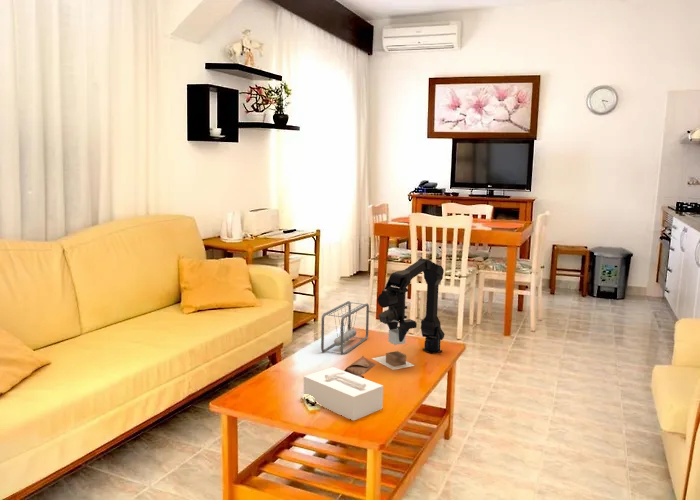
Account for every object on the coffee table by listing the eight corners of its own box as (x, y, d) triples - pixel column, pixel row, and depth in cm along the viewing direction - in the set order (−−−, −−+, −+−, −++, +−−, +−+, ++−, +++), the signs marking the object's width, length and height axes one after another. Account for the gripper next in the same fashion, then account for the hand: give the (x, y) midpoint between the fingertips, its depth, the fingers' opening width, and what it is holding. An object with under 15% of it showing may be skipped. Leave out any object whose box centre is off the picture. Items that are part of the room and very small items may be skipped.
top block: (398, 340, 255) (398, 328, 254) (405, 343, 250) (405, 331, 250) (388, 341, 252) (388, 330, 251) (395, 345, 248) (395, 333, 247)
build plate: (392, 356, 264) (392, 354, 264) (414, 367, 251) (415, 365, 250) (371, 360, 258) (371, 358, 258) (393, 372, 245) (393, 369, 245)
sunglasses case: (363, 379, 237) (355, 363, 237) (349, 385, 239) (341, 370, 240) (379, 365, 253) (372, 350, 253) (365, 371, 256) (358, 356, 256)
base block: (397, 360, 257) (397, 350, 256) (405, 364, 252) (406, 355, 251) (385, 362, 254) (386, 353, 253) (394, 366, 249) (394, 357, 248)
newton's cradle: (342, 357, 262) (343, 317, 260) (320, 353, 267) (321, 314, 264) (368, 338, 290) (369, 302, 287) (348, 335, 294) (349, 300, 291)
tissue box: (332, 389, 227) (333, 361, 225) (382, 409, 210) (383, 379, 208) (303, 399, 217) (303, 370, 215) (353, 421, 199) (354, 390, 198)
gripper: (369, 300, 252) (368, 336, 255) (395, 310, 237) (394, 349, 239) (391, 298, 258) (390, 333, 261) (418, 307, 242) (416, 345, 245)
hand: (396, 340), depth 251 cm, fingers closed on top block, 5 cm apart
